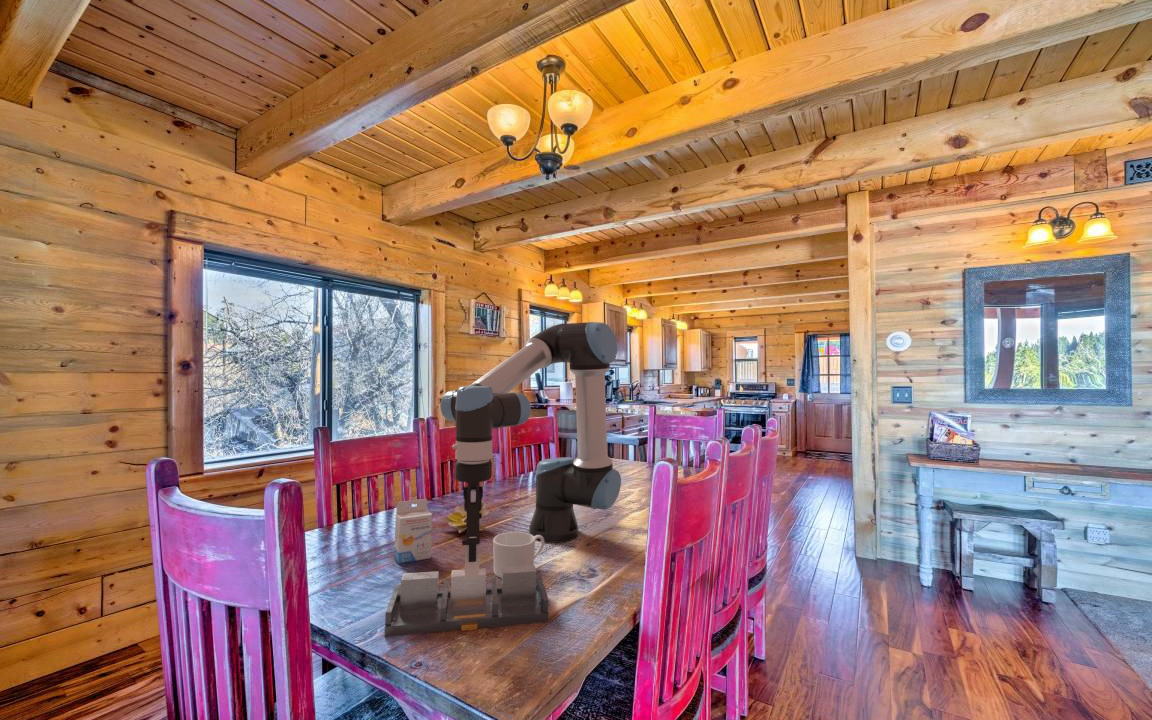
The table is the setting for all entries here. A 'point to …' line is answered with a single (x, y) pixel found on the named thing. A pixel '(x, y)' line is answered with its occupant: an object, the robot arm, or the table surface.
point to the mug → (514, 550)
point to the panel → (467, 591)
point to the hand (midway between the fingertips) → (472, 562)
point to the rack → (431, 610)
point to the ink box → (412, 531)
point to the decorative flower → (462, 517)
